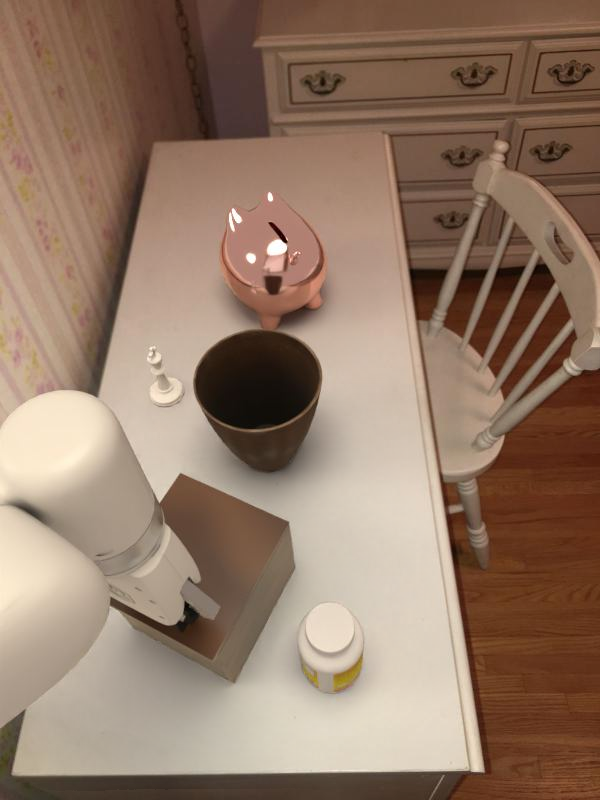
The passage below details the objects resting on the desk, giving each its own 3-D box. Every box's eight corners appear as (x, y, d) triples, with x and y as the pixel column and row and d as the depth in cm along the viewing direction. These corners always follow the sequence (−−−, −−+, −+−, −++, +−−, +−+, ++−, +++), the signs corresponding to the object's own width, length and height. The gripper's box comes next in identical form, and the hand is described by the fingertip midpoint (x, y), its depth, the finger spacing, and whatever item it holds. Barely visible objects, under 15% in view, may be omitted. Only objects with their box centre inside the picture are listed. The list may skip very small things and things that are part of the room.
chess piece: (145, 403, 93) (126, 359, 84) (157, 377, 95) (140, 331, 87) (177, 409, 92) (161, 365, 84) (188, 382, 94) (174, 337, 86)
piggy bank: (286, 246, 111) (279, 164, 98) (346, 308, 102) (347, 227, 89) (207, 282, 106) (189, 202, 94) (262, 350, 97) (251, 272, 84)
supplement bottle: (367, 639, 72) (372, 601, 61) (354, 701, 68) (357, 672, 58) (309, 624, 73) (305, 584, 63) (293, 684, 70) (286, 652, 59)
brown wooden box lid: (213, 662, 60) (204, 647, 56) (97, 599, 64) (79, 580, 60) (289, 524, 68) (286, 502, 63) (181, 475, 72) (171, 451, 67)
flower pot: (338, 419, 89) (339, 344, 76) (302, 512, 81) (296, 446, 68) (239, 393, 93) (224, 316, 80) (195, 479, 85) (170, 410, 72)
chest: (234, 683, 70) (218, 655, 60) (132, 627, 74) (102, 592, 64) (295, 567, 77) (289, 525, 68) (199, 521, 81) (181, 476, 72)
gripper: (-14, 518, 48) (69, 599, 62) (178, 620, 43) (219, 683, 57) (52, 440, 52) (115, 534, 66) (235, 526, 46) (259, 607, 61)
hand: (163, 602), depth 62 cm, fingers closed on brown wooden box lid, 5 cm apart
